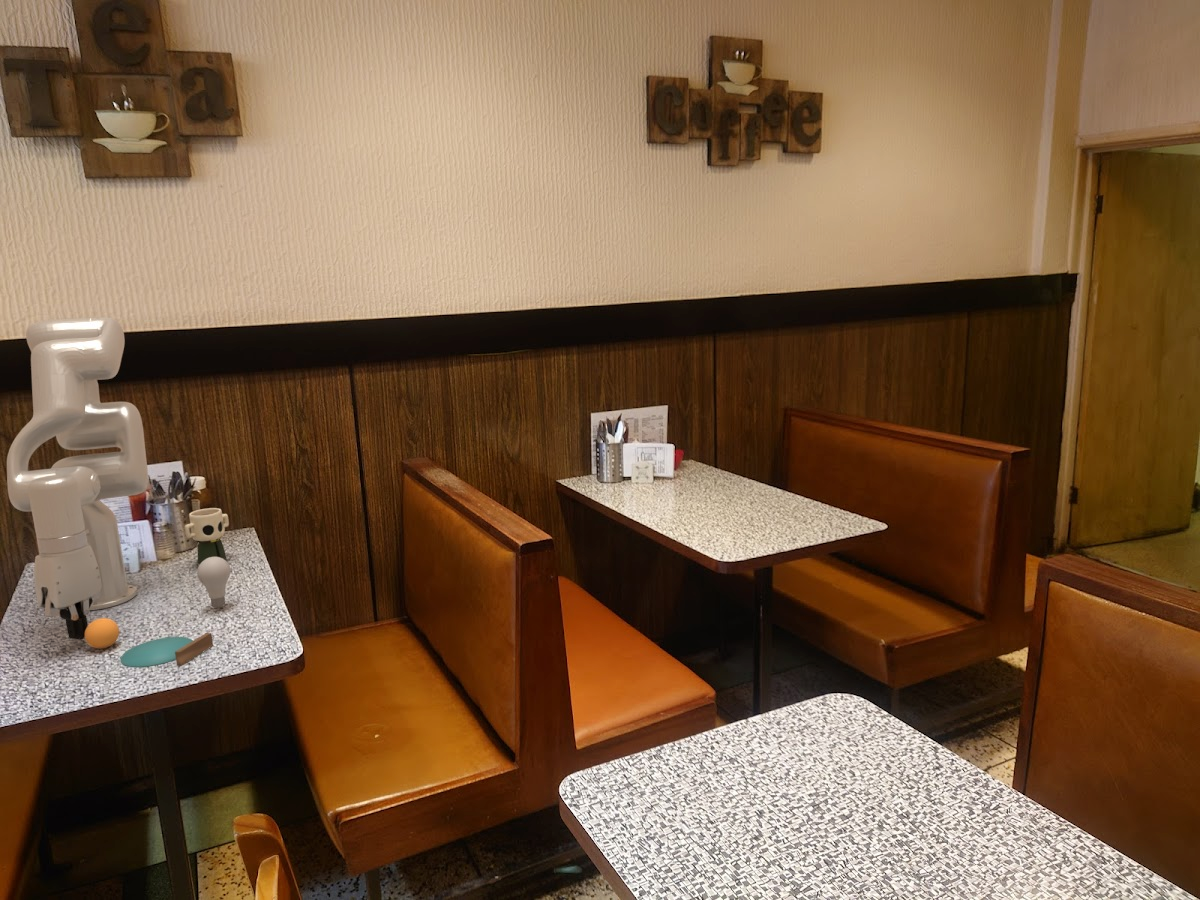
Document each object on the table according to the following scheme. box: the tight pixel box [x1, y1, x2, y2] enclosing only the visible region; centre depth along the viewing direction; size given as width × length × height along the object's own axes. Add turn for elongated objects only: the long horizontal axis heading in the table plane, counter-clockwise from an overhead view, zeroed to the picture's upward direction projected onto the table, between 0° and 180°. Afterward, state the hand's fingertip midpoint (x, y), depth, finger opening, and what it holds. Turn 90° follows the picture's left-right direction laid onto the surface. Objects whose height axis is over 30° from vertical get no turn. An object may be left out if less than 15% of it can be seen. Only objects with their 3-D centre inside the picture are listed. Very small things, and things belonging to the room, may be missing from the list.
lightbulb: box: [196, 557, 231, 610], centre depth 170 cm, size 6×6×11 cm
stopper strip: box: [175, 632, 214, 666], centre depth 149 cm, size 1×8×2 cm, turn 166°
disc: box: [120, 636, 194, 668], centre depth 151 cm, size 12×12×1 cm
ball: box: [84, 617, 120, 649], centre depth 154 cm, size 6×6×6 cm
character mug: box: [184, 507, 230, 565], centre depth 198 cm, size 11×7×13 cm, turn 147°
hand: (79, 637), depth 155 cm, fingers closed
